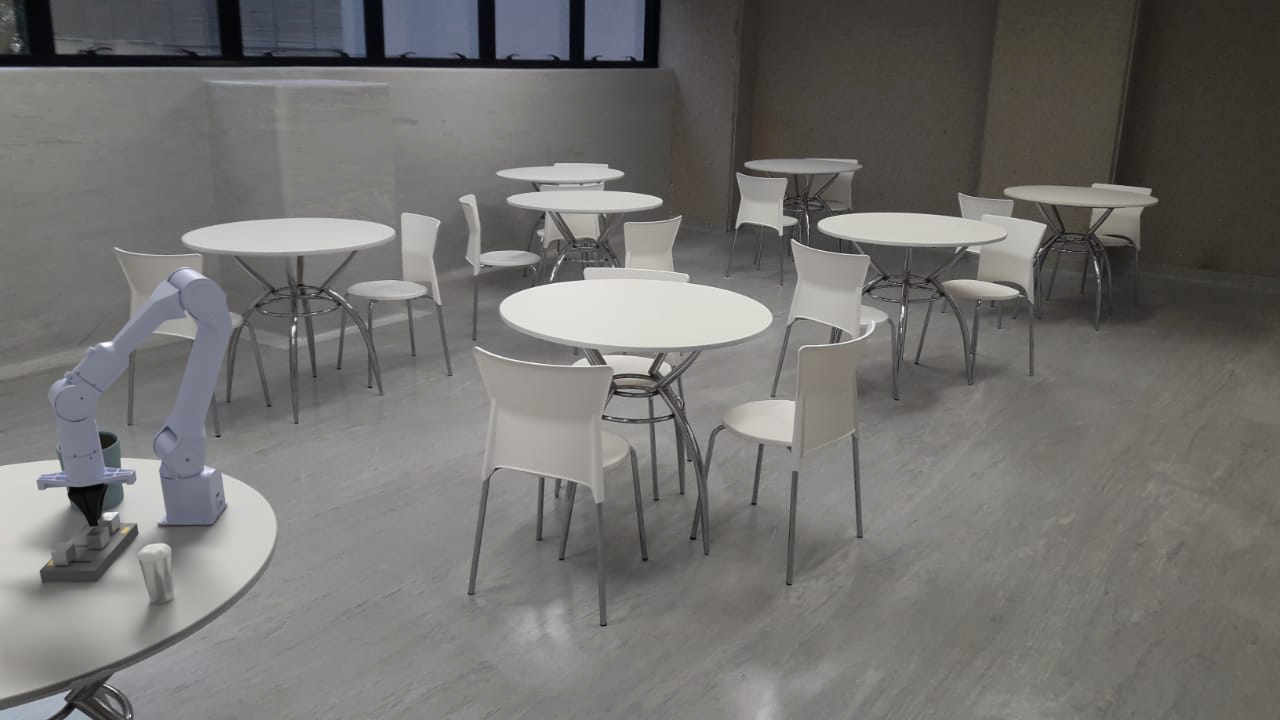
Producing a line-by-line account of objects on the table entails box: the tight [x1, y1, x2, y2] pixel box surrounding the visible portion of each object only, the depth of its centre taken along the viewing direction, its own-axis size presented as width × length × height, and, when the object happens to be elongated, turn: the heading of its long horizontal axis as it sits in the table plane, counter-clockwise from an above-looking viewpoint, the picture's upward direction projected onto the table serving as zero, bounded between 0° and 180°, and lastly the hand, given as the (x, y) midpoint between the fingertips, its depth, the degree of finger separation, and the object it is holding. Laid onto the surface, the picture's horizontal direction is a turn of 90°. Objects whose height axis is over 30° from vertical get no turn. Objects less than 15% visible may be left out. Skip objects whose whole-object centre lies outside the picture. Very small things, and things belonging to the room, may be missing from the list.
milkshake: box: [137, 531, 175, 605], centre depth 151 cm, size 4×5×10 cm
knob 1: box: [50, 542, 77, 565], centre depth 157 cm, size 2×3×2 cm
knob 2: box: [97, 511, 122, 533], centre depth 167 cm, size 2×3×2 cm
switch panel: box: [39, 522, 139, 583], centre depth 163 cm, size 8×15×2 cm, turn 2°
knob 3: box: [86, 527, 110, 549], centre depth 162 cm, size 2×3×2 cm
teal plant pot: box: [55, 430, 125, 514], centre depth 179 cm, size 10×10×12 cm
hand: (95, 523), depth 167 cm, fingers closed
